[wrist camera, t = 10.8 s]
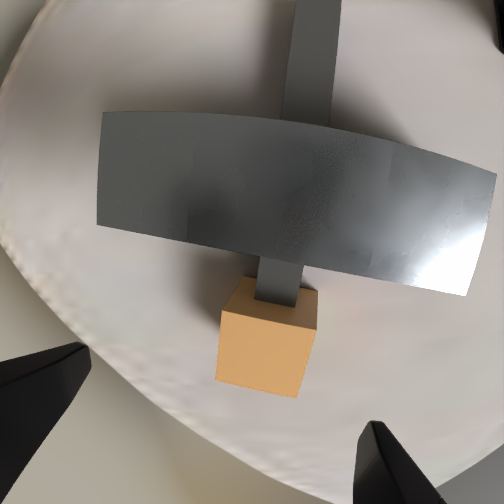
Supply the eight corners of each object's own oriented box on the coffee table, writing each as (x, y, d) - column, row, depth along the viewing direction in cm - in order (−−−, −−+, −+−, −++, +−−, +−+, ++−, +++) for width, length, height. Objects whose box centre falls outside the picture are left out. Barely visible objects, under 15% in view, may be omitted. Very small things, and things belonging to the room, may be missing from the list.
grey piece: (179, 123, 19) (103, 112, 11) (430, 165, 16) (496, 174, 9) (172, 198, 20) (96, 224, 13) (414, 242, 18) (465, 295, 10)
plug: (280, 9, 15) (268, -30, 10) (359, 19, 14) (370, -18, 10) (234, 346, 23) (214, 389, 18) (300, 360, 22) (293, 406, 17)
